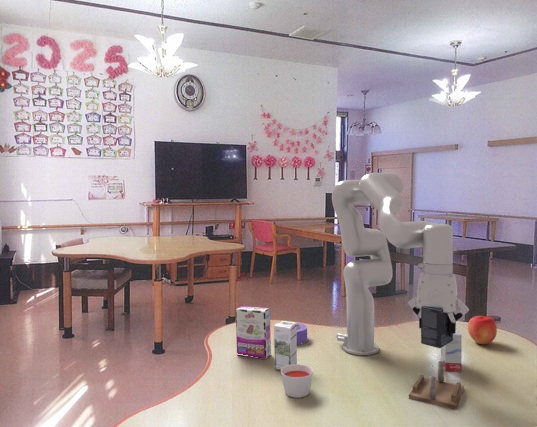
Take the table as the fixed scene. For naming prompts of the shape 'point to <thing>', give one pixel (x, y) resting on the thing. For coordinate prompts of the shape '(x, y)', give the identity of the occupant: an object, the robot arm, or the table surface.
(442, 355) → the ink box
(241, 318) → the candy bar box
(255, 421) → the table surface
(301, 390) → the candle
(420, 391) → the cradle
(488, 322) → the apple
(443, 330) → the box
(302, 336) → the tape roll
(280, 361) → the syrup box
